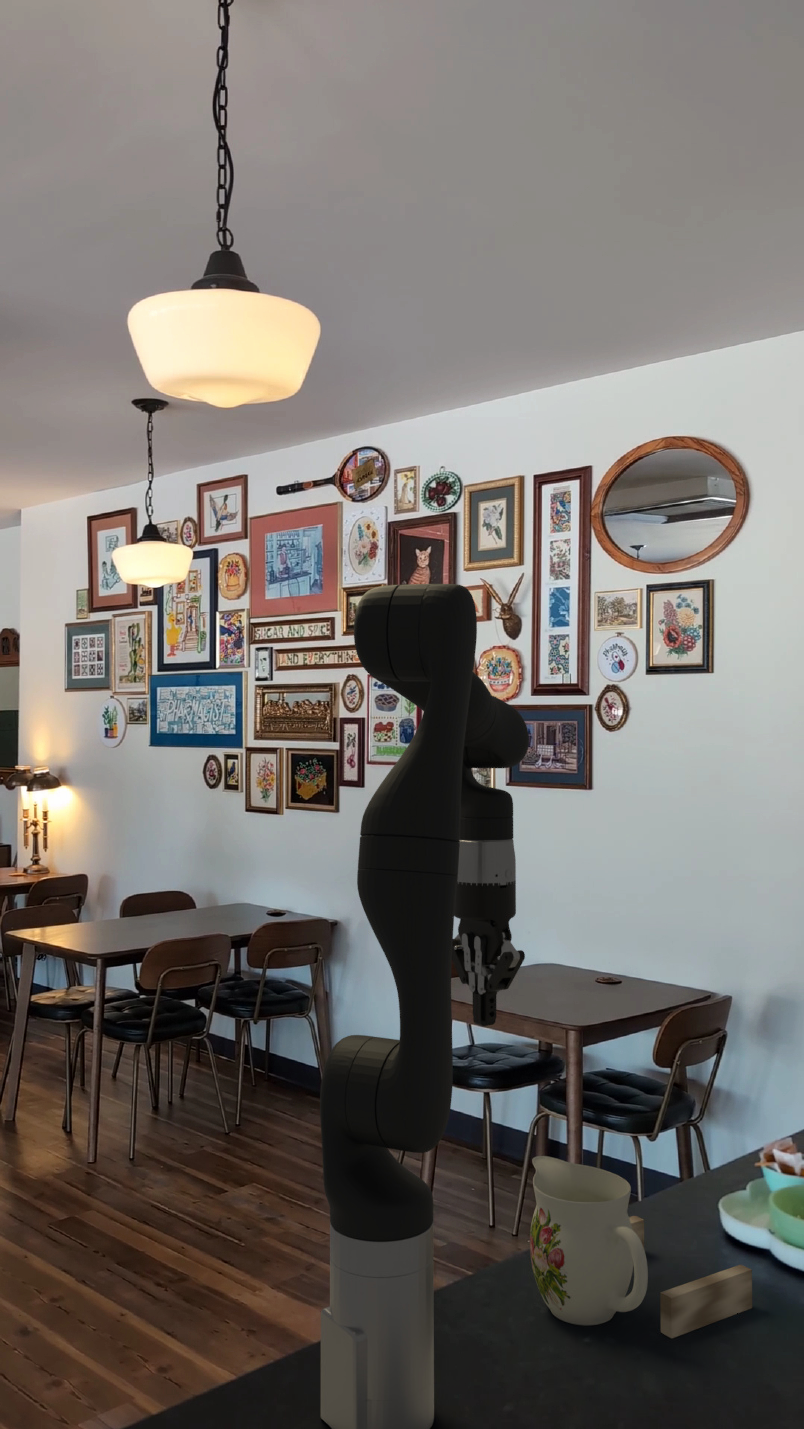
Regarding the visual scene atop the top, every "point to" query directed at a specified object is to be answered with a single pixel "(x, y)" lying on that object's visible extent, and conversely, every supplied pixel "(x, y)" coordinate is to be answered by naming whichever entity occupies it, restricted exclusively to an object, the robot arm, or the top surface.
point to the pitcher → (584, 1242)
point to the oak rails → (702, 1296)
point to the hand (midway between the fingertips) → (484, 1024)
